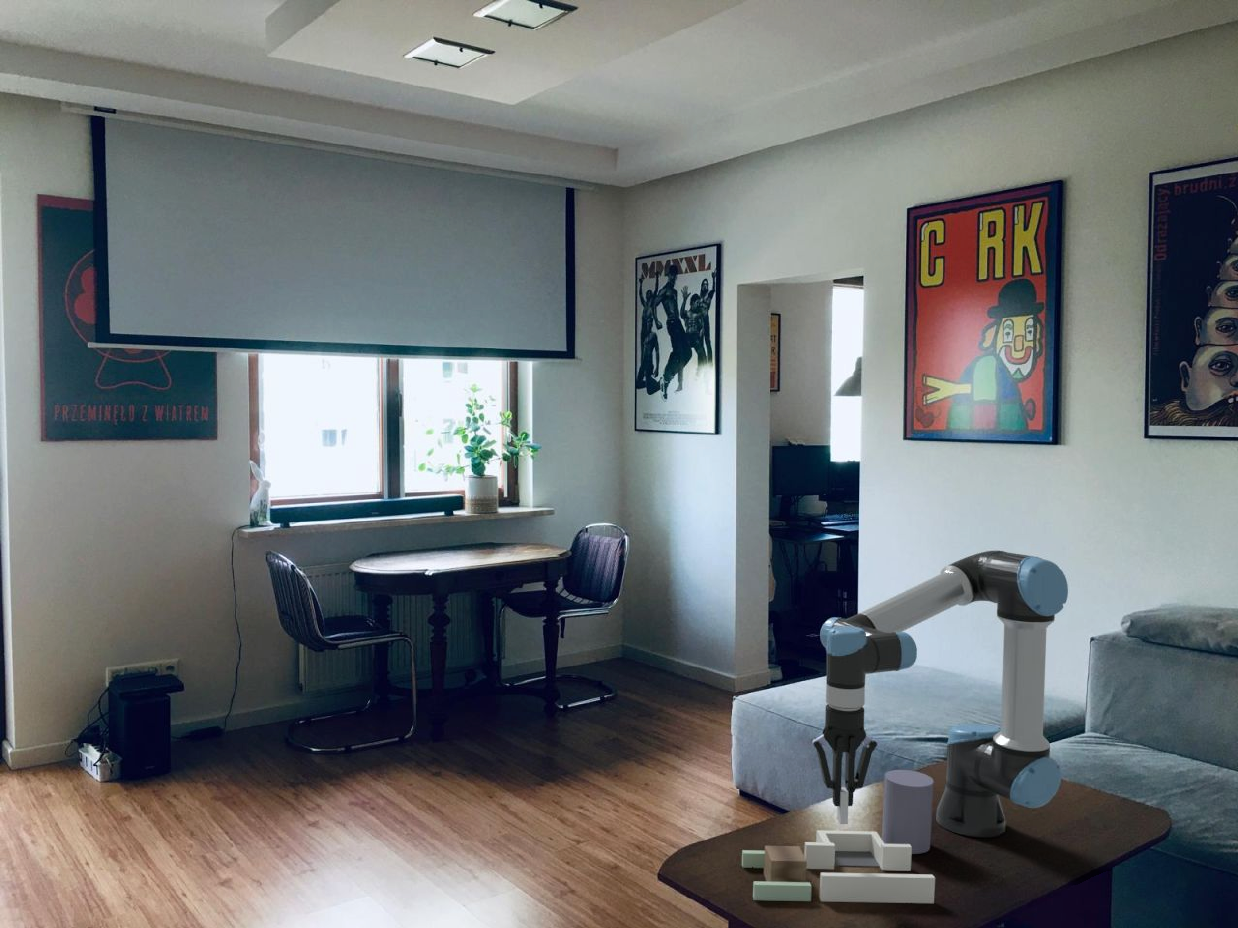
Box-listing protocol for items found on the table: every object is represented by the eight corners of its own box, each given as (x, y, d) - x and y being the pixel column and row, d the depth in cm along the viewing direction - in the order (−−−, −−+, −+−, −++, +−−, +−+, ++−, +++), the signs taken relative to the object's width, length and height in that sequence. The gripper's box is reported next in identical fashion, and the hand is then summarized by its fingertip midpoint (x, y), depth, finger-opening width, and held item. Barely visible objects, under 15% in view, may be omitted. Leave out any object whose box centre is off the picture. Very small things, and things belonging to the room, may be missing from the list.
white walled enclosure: (895, 849, 222) (897, 827, 221) (933, 903, 198) (935, 877, 197) (795, 847, 221) (796, 825, 220) (821, 901, 197) (822, 875, 197)
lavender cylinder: (895, 856, 218) (898, 787, 218) (873, 836, 228) (876, 770, 228) (939, 853, 220) (942, 785, 220) (915, 834, 231) (918, 768, 230)
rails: (794, 865, 212) (794, 851, 212) (810, 900, 197) (811, 885, 197) (741, 864, 212) (742, 850, 212) (754, 899, 196) (754, 884, 196)
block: (797, 874, 208) (799, 846, 208) (805, 891, 201) (806, 861, 201) (763, 874, 208) (764, 845, 207) (770, 890, 201) (771, 860, 201)
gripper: (872, 699, 207) (869, 813, 208) (808, 699, 206) (805, 813, 208) (883, 710, 199) (880, 828, 201) (816, 711, 199) (814, 829, 200)
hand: (842, 820), depth 204 cm, fingers closed
